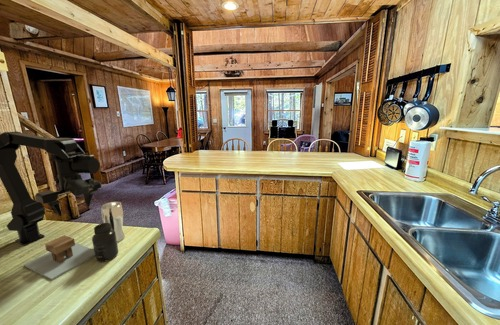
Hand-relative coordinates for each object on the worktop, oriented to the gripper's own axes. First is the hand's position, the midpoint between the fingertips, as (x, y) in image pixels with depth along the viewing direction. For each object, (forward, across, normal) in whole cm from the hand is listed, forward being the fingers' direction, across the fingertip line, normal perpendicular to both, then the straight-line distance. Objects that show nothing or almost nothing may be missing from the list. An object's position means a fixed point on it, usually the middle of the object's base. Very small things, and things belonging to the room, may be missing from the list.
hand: (74, 211), depth 80 cm
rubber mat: (+13, -9, -7) cm, 17 cm away
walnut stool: (+12, -9, -7) cm, 17 cm away
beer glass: (+13, +7, -12) cm, 19 cm away
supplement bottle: (+13, -1, -19) cm, 23 cm away
